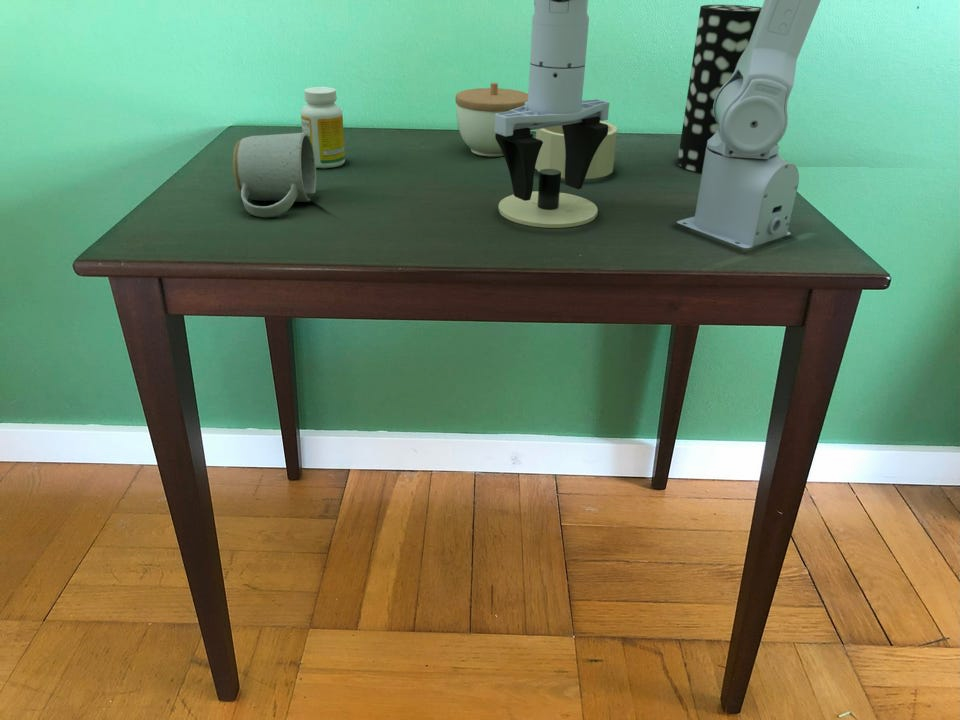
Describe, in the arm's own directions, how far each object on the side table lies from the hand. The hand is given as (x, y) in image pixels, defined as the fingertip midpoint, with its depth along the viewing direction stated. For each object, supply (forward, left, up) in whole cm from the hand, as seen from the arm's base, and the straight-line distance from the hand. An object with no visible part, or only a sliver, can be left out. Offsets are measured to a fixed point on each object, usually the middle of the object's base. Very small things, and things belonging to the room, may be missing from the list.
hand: (548, 192), depth 86 cm
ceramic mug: (+20, +23, -3) cm, 31 cm away
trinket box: (+25, -12, -3) cm, 28 cm away
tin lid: (0, 0, -2) cm, 2 cm away
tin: (+11, -15, -3) cm, 19 cm away
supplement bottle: (+32, +11, -3) cm, 35 cm away
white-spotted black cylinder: (+3, -33, -3) cm, 33 cm away
